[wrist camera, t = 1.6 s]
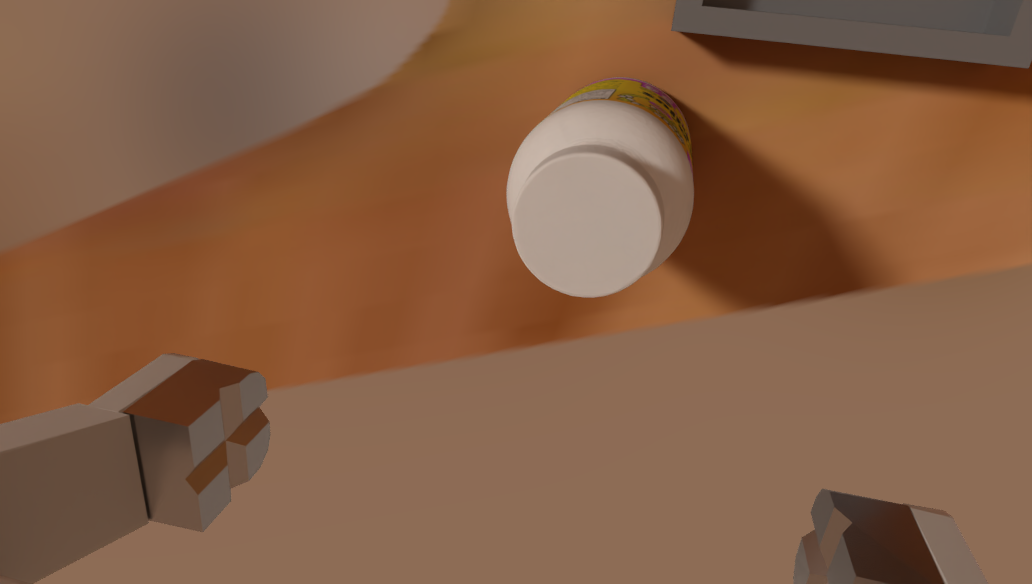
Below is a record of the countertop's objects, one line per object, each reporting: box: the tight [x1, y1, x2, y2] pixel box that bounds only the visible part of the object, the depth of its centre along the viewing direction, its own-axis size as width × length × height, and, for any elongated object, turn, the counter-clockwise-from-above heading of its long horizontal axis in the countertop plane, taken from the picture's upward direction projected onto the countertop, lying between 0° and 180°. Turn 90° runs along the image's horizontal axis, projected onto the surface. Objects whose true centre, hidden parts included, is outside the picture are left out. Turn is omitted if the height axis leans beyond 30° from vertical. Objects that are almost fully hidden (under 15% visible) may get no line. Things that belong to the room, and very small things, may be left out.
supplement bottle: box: [507, 77, 694, 297], centre depth 26 cm, size 7×7×13 cm
